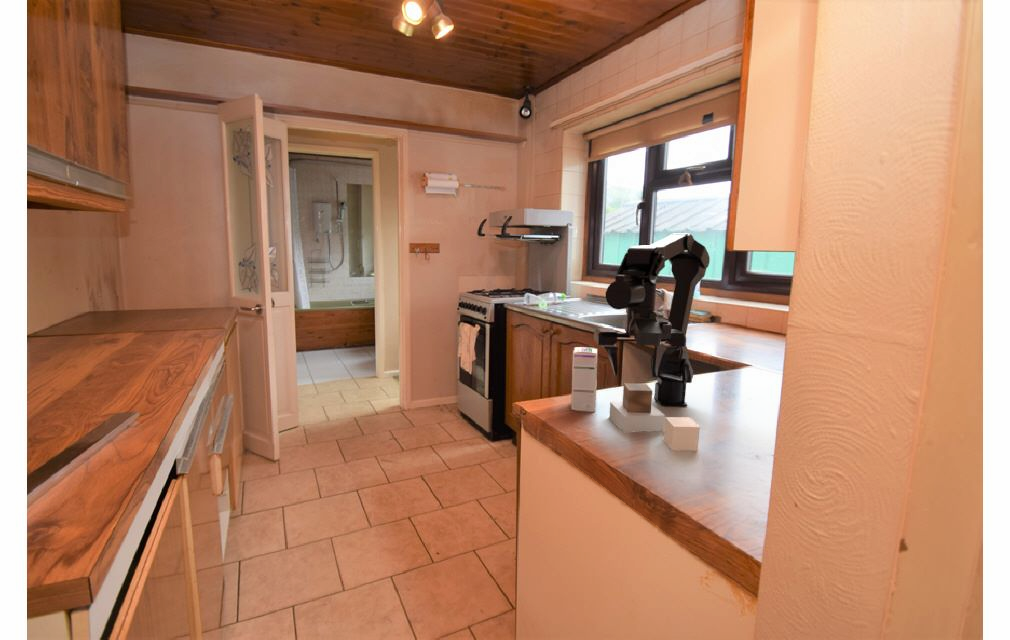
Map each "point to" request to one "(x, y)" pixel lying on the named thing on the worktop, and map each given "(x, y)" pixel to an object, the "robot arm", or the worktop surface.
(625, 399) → the walnut cube
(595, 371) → the syrup box
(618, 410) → the base block
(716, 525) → the worktop surface
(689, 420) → the cream cube
